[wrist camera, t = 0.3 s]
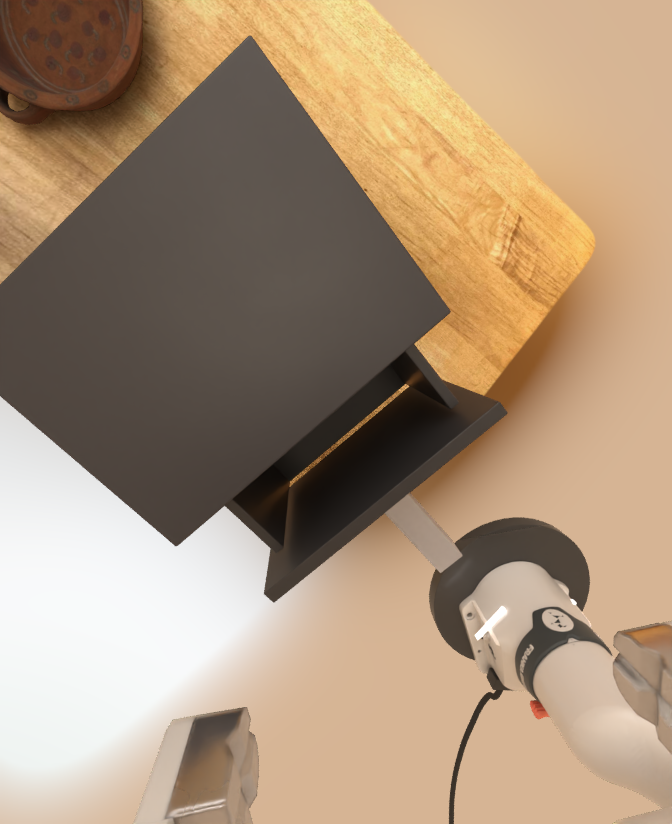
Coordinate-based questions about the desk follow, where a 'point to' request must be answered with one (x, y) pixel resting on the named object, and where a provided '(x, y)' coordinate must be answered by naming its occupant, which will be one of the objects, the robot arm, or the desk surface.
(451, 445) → the drawer
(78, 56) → the dish
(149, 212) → the cabinet
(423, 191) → the desk surface
